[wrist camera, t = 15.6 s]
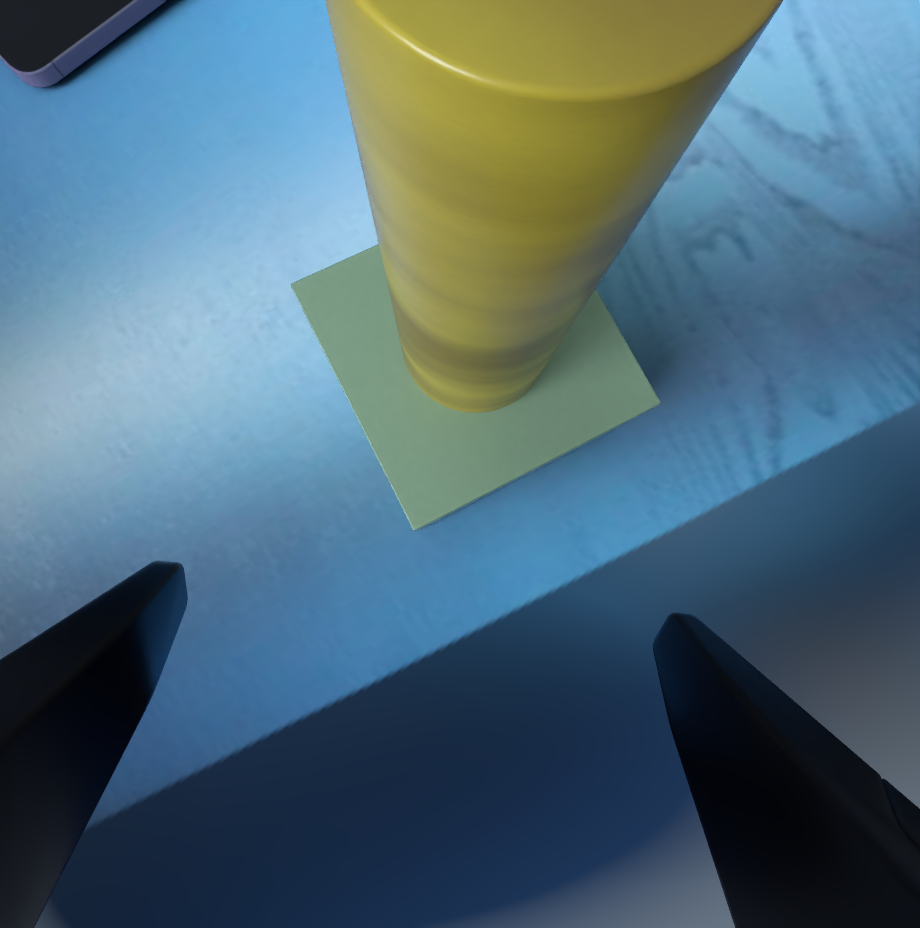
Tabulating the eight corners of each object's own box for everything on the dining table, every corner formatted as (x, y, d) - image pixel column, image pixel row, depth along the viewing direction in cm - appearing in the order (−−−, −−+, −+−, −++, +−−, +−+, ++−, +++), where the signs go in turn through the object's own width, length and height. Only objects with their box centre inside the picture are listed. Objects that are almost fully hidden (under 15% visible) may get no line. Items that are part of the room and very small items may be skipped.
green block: (613, 430, 23) (661, 402, 18) (420, 530, 22) (413, 531, 17) (512, 247, 24) (531, 174, 19) (322, 336, 23) (289, 283, 18)
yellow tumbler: (521, 432, 17) (750, 166, 5) (381, 386, 17) (217, -8, 5) (562, 300, 18) (864, -256, 5) (429, 256, 18) (399, -406, 5)
